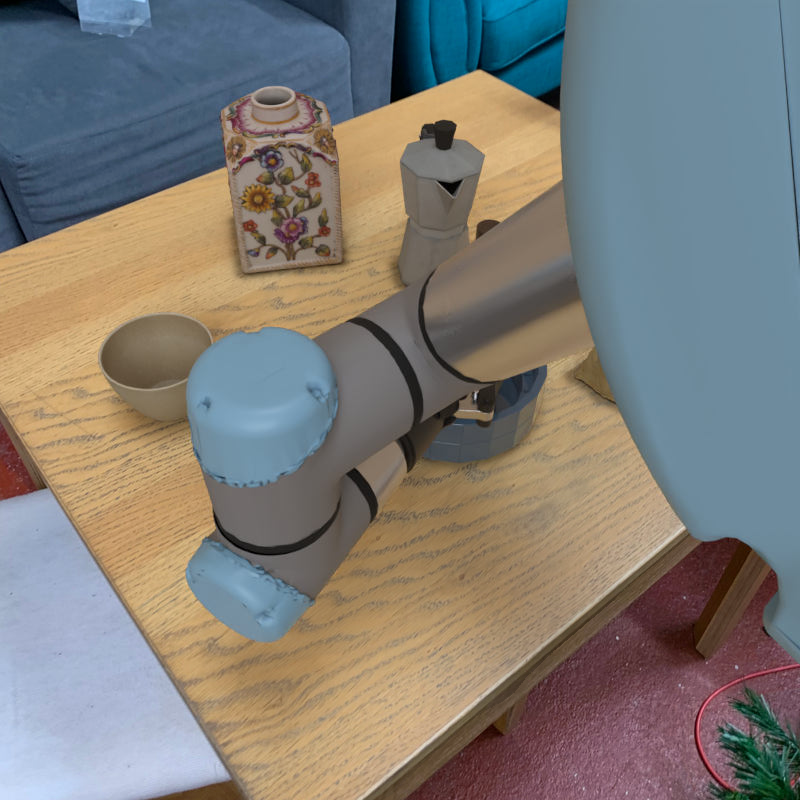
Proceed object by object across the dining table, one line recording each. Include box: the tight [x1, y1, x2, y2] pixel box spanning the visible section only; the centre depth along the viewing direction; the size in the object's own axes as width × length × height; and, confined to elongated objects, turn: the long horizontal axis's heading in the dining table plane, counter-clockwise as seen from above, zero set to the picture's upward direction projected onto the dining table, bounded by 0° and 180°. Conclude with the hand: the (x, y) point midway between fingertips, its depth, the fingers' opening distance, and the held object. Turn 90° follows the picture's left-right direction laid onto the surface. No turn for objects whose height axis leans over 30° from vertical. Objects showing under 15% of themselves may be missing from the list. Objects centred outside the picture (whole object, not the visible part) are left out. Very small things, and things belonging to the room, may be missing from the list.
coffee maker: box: [397, 119, 486, 287], centre depth 82 cm, size 15×9×18 cm, turn 9°
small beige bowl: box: [97, 311, 215, 423], centre depth 70 cm, size 10×10×7 cm
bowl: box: [421, 364, 548, 464], centre depth 72 cm, size 17×17×6 cm
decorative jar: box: [218, 85, 344, 274], centre depth 84 cm, size 12×12×18 cm
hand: (508, 270), depth 68 cm, fingers closed on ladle, 2 cm apart
